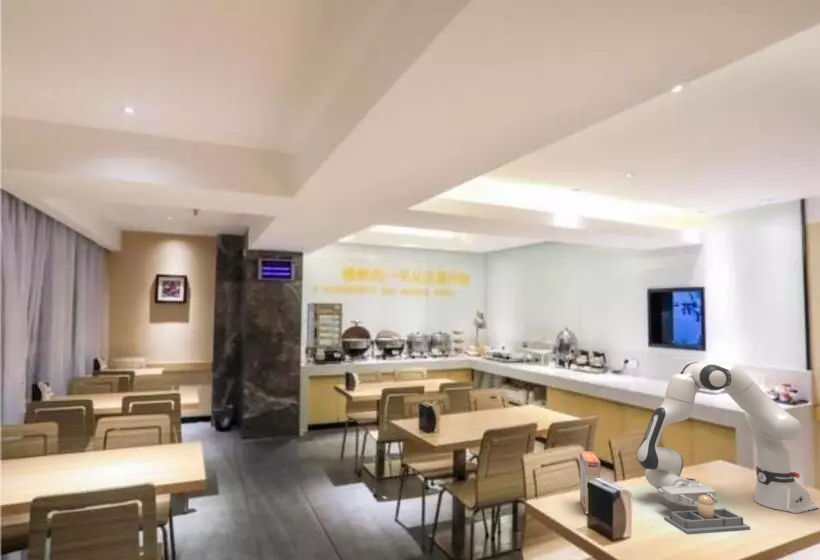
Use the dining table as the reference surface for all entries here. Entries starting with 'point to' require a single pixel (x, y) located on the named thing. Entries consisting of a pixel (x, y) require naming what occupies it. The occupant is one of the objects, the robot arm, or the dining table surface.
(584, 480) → the cracker box
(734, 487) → the dining table surface
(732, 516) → the grey compartment tray
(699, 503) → the tan domed cylinder
